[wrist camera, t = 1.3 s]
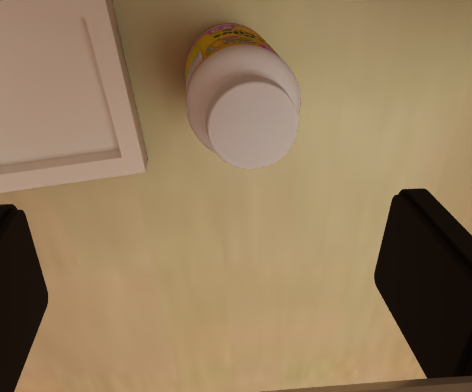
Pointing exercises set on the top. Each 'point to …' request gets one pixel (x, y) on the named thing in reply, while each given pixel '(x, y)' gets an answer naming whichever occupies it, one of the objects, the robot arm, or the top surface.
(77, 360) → the top surface
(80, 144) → the ceramic tray
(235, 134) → the supplement bottle
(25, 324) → the robot arm
